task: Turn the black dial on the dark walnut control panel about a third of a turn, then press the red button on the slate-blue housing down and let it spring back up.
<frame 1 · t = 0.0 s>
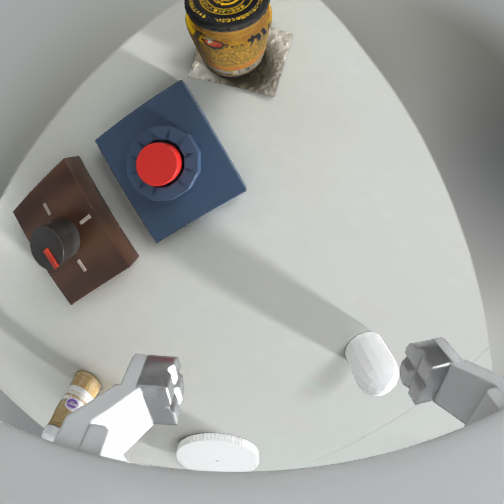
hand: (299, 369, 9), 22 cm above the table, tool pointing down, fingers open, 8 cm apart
capsule: (363, 347, 36), on the table
sprinkles bottle: (88, 379, 37), on the table
condiment: (241, 54, 24), on the table
dial panel: (77, 229, 29), on the table
plastic lid: (218, 448, 43), on the table
dial: (54, 243, 25), point 5 cm above the table, hinge at 0.0°
button housing: (171, 161, 27), on the table
start button: (159, 163, 23), point 4 cm above the table, slide at 0.1 cm
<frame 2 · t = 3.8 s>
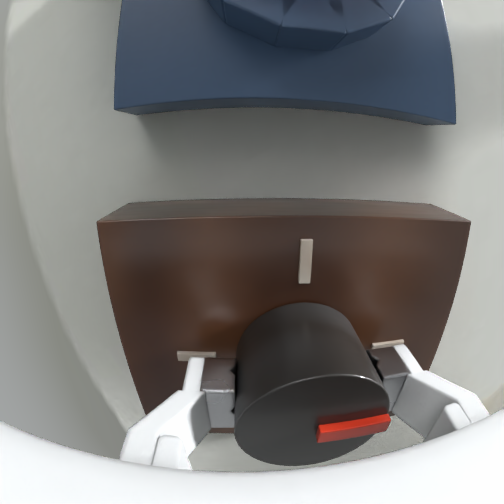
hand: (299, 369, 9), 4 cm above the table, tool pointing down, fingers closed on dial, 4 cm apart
dial panel: (286, 311, 13), on the table
dial: (306, 391, 8), point 5 cm above the table, hinge at -0.1°, touching gripper
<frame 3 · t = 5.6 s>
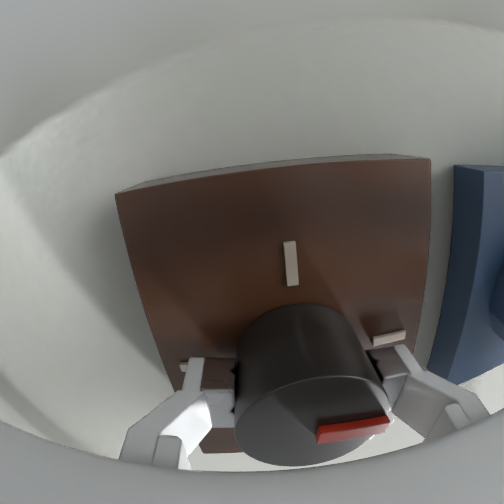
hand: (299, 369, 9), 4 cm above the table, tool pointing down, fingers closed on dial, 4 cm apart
dial panel: (286, 312, 13), on the table
dial: (306, 392, 8), point 5 cm above the table, hinge at 81.9°, touching gripper
button housing: (503, 268, 13), on the table
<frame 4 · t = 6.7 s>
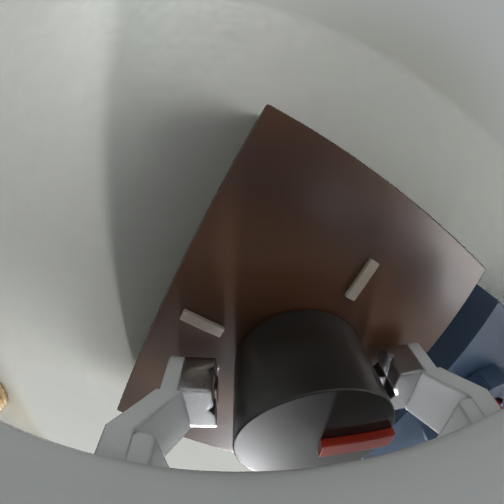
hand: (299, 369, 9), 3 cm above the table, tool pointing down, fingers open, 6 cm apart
dial panel: (287, 316, 13), on the table
dial: (307, 402, 8), point 5 cm above the table, hinge at 117.1°
button housing: (450, 383, 15), on the table
start button: (480, 428, 11), point 4 cm above the table, slide at 0.1 cm
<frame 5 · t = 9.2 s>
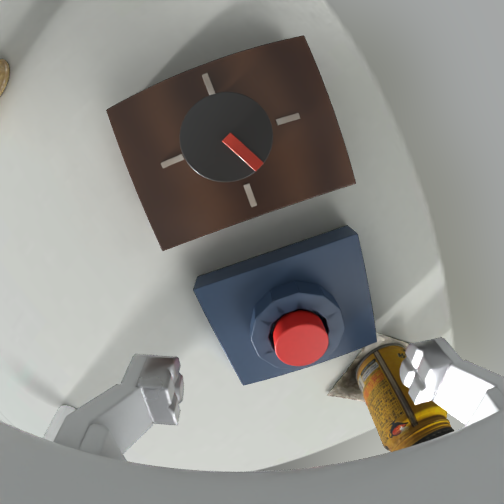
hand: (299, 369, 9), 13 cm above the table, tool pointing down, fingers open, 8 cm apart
capsule: (76, 417, 30), on the table
condiment: (375, 370, 27), on the table
dial panel: (231, 139, 19), on the table
dial: (227, 137, 15), point 5 cm above the table, hinge at 117.1°
button housing: (291, 306, 24), on the table
start button: (300, 338, 20), point 4 cm above the table, slide at 0.1 cm
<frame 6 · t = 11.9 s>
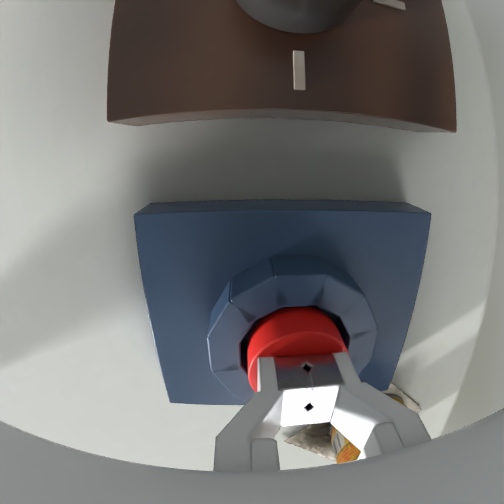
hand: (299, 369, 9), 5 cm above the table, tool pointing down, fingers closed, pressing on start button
condiment: (356, 423, 19), on the table
dial panel: (284, 16, 10), on the table
button housing: (283, 302, 14), on the table
start button: (296, 358, 10), point 4 cm above the table, slide at -0.1 cm, touching gripper
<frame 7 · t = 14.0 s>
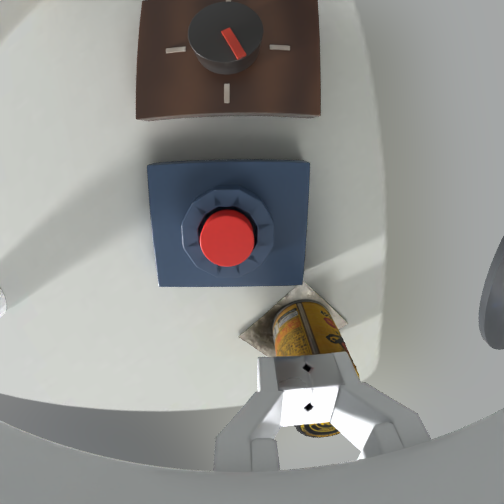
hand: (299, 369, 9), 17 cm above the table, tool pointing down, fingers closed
condiment: (294, 328, 29), on the table
dial panel: (228, 57, 20), on the table
dial: (226, 38, 15), point 5 cm above the table, hinge at 117.1°
button housing: (229, 220, 25), on the table
start button: (227, 237, 20), point 4 cm above the table, slide at 0.1 cm
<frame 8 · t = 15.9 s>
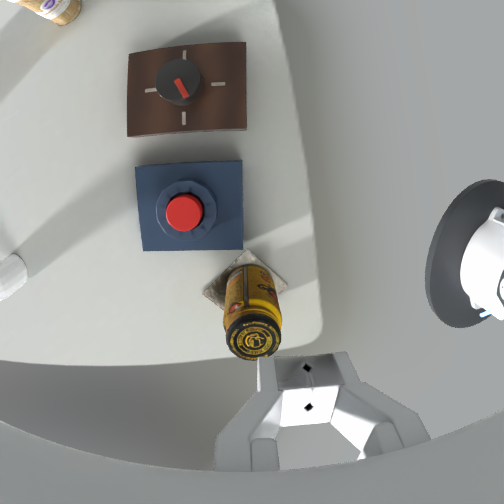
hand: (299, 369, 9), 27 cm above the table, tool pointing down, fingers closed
capsule: (17, 269, 37), on the table
sprinkles bottle: (69, 12, 24), on the table
condiment: (245, 288, 39), on the table
dial panel: (189, 91, 30), on the table
dial: (180, 82, 25), point 5 cm above the table, hinge at 117.1°
button housing: (191, 204, 35), on the table
start button: (184, 212, 30), point 4 cm above the table, slide at 0.1 cm
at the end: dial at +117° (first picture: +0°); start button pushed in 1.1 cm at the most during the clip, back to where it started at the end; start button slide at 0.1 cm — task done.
